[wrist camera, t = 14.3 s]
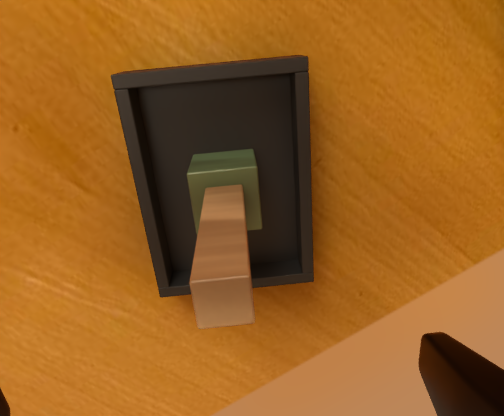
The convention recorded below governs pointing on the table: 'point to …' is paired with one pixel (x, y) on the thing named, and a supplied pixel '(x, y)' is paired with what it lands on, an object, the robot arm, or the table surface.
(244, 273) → the scrub brush
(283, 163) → the tray
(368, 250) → the table surface
